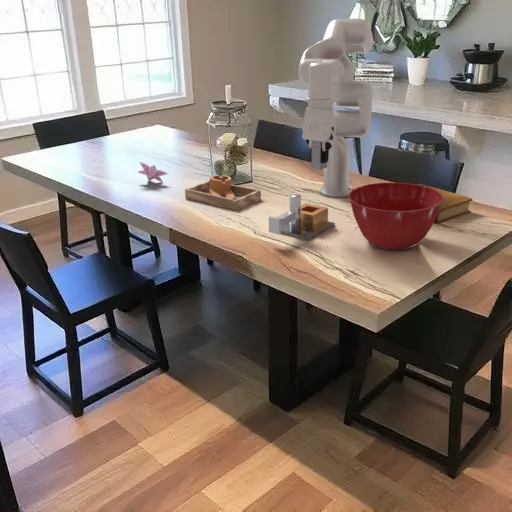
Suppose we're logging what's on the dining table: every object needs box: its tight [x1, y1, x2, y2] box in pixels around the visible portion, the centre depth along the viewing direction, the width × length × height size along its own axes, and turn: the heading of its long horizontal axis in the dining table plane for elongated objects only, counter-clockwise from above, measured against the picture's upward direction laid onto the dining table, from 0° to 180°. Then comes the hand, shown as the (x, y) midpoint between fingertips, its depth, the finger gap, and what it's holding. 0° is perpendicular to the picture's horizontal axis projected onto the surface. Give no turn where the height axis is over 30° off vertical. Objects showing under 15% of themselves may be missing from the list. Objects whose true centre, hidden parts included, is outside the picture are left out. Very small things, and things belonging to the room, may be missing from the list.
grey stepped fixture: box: [268, 193, 336, 242], centre depth 203 cm, size 25×14×13 cm, turn 143°
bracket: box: [208, 174, 236, 207], centre depth 239 cm, size 18×8×7 cm, turn 11°
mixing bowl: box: [348, 182, 444, 251], centre depth 194 cm, size 28×28×16 cm
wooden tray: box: [184, 179, 262, 211], centre depth 239 cm, size 15×25×4 cm, turn 53°
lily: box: [137, 161, 168, 188], centre depth 257 cm, size 12×12×10 cm
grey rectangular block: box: [310, 140, 327, 171], centre depth 201 cm, size 4×4×11 cm
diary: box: [416, 183, 473, 225], centre depth 223 cm, size 23×19×6 cm
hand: (319, 160), depth 202 cm, fingers closed on grey rectangular block, 3 cm apart
